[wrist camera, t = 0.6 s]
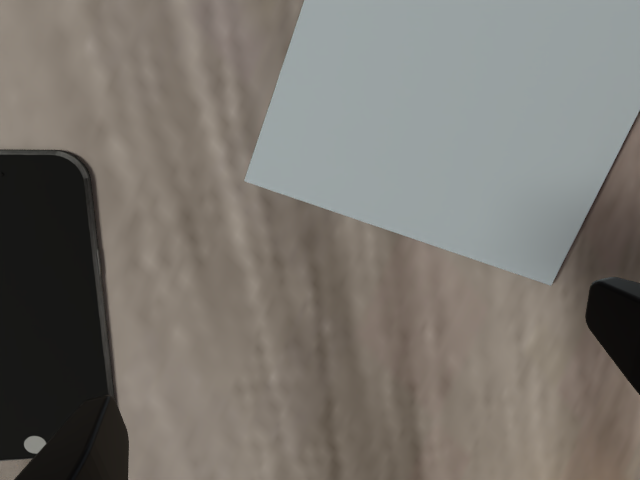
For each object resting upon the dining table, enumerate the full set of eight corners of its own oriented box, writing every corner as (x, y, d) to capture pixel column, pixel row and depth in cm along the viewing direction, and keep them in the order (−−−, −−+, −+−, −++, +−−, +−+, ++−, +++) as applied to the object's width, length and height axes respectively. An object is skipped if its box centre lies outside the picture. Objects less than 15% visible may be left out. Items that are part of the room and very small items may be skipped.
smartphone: (-49, 467, 24) (-122, 149, 19) (-40, 456, 24) (-109, 147, 20) (119, 455, 25) (85, 151, 20) (122, 445, 25) (90, 149, 21)
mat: (546, 282, 25) (551, 285, 25) (244, 179, 22) (244, 181, 21) (710, -44, 22) (718, -46, 21) (380, -227, 18) (382, -234, 18)
